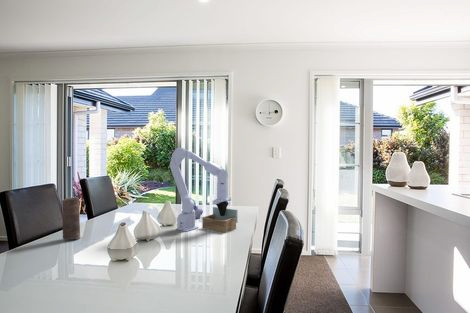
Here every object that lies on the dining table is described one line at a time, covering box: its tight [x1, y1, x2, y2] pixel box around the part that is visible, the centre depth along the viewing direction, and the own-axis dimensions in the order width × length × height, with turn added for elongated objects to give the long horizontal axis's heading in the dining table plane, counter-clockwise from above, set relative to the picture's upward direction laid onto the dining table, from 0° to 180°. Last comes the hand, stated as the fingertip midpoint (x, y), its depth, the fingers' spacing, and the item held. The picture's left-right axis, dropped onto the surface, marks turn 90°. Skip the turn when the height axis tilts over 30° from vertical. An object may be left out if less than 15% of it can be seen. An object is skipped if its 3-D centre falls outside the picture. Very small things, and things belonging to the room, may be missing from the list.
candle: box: [61, 197, 81, 241], centre depth 147 cm, size 8×7×20 cm
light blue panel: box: [212, 206, 239, 224], centre depth 171 cm, size 1×16×7 cm, turn 56°
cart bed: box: [201, 213, 237, 233], centre depth 166 cm, size 9×16×6 cm, turn 56°
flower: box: [194, 204, 204, 219], centre depth 191 cm, size 9×9×10 cm
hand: (222, 215), depth 169 cm, fingers closed
